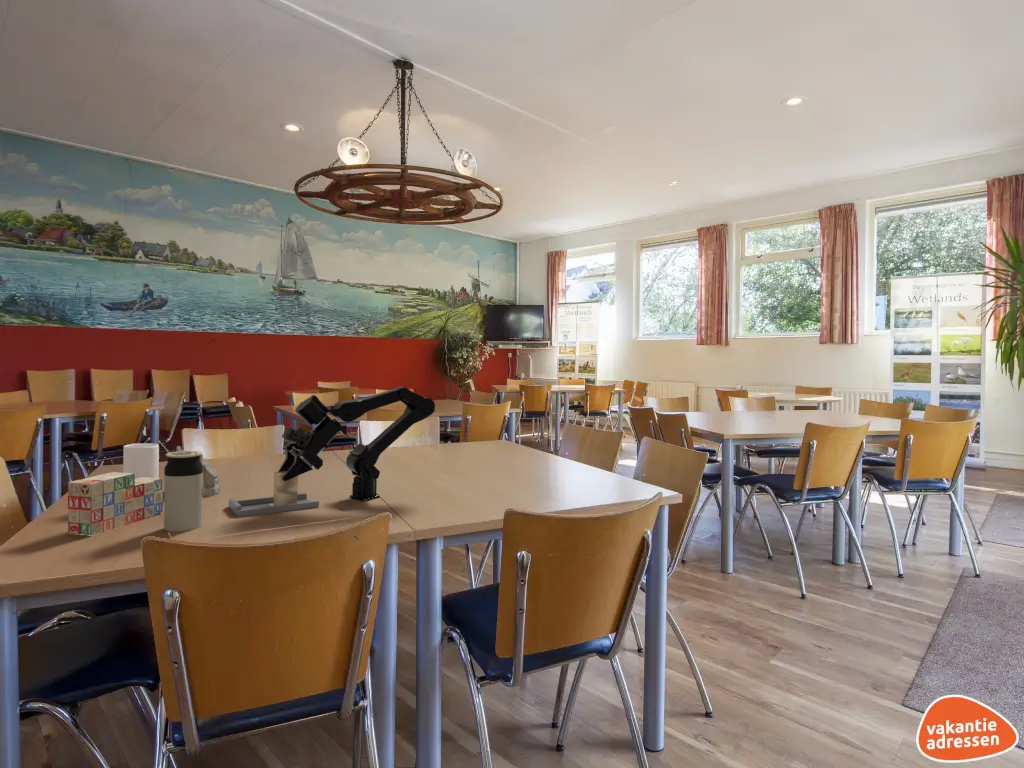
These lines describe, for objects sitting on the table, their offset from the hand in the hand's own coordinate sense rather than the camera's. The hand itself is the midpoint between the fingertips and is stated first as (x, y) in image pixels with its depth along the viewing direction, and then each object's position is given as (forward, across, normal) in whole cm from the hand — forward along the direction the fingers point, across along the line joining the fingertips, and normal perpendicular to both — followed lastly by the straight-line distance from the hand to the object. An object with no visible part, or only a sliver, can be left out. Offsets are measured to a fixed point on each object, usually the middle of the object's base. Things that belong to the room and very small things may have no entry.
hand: (280, 478), depth 161 cm
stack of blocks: (+32, -4, -20) cm, 38 cm away
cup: (+28, -24, -16) cm, 40 cm away
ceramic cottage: (+18, -31, -6) cm, 36 cm away
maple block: (+4, 0, +6) cm, 8 cm away
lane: (+7, 0, +5) cm, 8 cm away
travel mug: (+23, +8, -11) cm, 27 cm away
